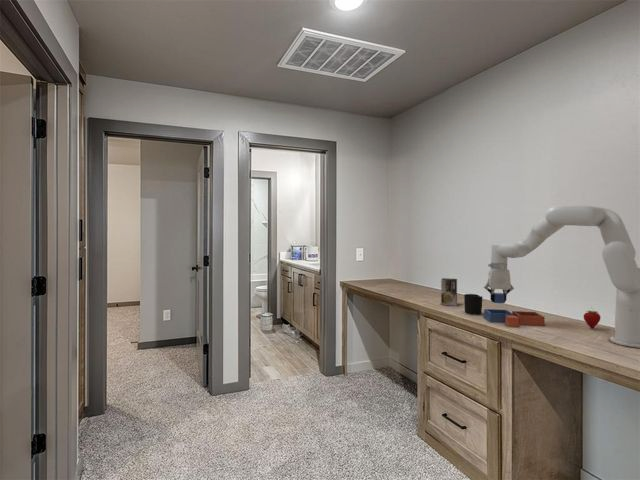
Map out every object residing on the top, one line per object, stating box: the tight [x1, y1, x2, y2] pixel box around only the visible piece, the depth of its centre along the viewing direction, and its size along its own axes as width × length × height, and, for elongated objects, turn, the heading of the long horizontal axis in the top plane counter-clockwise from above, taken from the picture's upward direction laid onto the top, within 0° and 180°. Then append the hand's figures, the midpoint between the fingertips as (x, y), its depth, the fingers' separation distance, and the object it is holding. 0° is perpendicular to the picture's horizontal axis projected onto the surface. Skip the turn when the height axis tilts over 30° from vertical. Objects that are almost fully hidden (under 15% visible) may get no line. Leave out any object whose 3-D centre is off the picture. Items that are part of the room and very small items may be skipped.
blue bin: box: [483, 308, 514, 324], centre depth 192 cm, size 11×11×4 cm
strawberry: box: [583, 307, 601, 329], centre depth 176 cm, size 6×8×10 cm
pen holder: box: [463, 293, 483, 316], centre depth 208 cm, size 9×9×10 cm
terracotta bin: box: [511, 310, 546, 327], centre depth 187 cm, size 11×11×4 cm
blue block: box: [493, 292, 505, 304], centre depth 192 cm, size 4×4×4 cm
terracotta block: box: [504, 315, 519, 328], centre depth 180 cm, size 4×4×4 cm
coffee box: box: [440, 277, 458, 307], centre depth 232 cm, size 9×6×16 cm
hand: (498, 301), depth 192 cm, fingers closed on blue block, 4 cm apart
